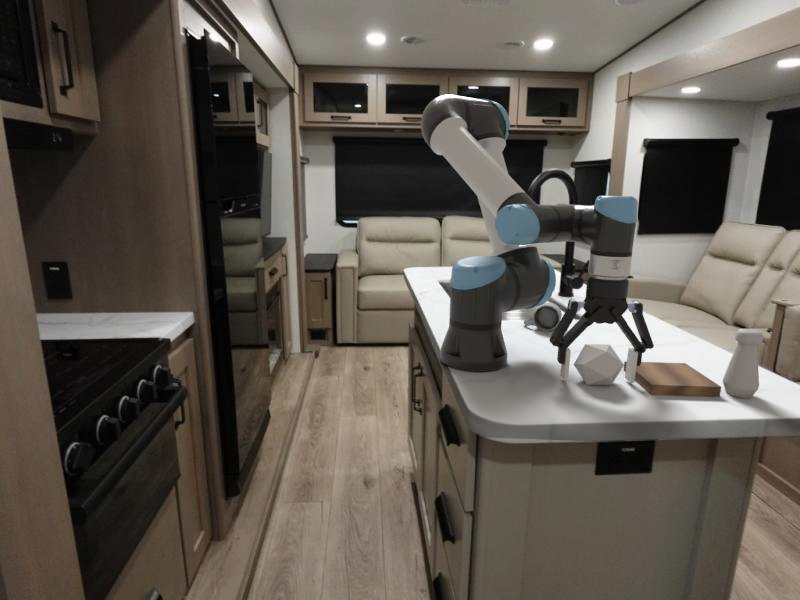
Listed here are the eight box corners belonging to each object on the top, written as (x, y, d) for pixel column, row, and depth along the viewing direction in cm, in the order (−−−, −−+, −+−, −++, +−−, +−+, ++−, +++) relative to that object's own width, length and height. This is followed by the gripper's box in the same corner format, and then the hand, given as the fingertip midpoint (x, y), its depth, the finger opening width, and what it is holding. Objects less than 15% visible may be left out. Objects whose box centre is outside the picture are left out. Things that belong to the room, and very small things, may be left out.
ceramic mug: (561, 325, 141) (563, 300, 139) (559, 332, 134) (560, 306, 132) (525, 322, 145) (526, 298, 143) (521, 328, 137) (522, 303, 136)
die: (614, 397, 94) (638, 355, 95) (576, 373, 94) (599, 331, 95) (596, 395, 102) (618, 356, 103) (561, 373, 102) (583, 334, 103)
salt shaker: (754, 403, 90) (767, 336, 88) (718, 394, 94) (730, 330, 91) (758, 393, 95) (770, 330, 92) (723, 385, 98) (734, 324, 95)
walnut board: (650, 394, 94) (652, 384, 93) (623, 370, 106) (624, 361, 106) (719, 396, 93) (721, 386, 93) (683, 371, 106) (685, 363, 105)
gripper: (549, 278, 91) (540, 384, 96) (682, 281, 90) (667, 388, 95) (539, 271, 98) (531, 370, 103) (663, 274, 98) (649, 374, 102)
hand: (596, 379), depth 99 cm, fingers open, 12 cm apart
